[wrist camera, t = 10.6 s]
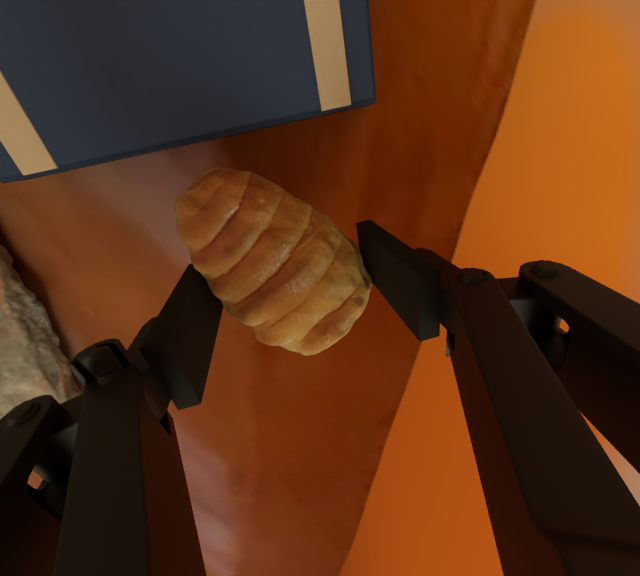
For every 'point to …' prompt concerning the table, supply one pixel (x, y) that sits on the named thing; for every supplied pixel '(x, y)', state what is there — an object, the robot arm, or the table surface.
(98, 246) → the table surface
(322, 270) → the pastry
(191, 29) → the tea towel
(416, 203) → the table surface
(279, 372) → the table surface
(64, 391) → the long grey stone
